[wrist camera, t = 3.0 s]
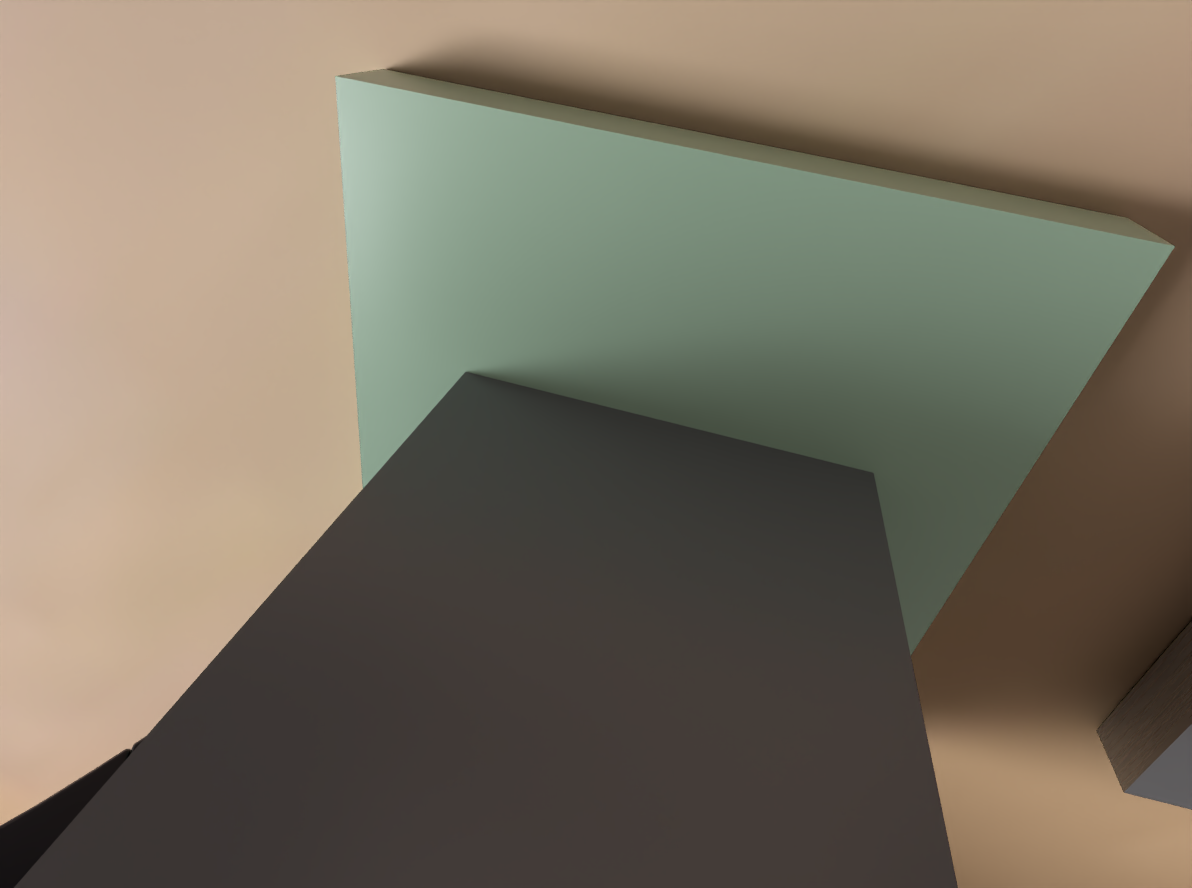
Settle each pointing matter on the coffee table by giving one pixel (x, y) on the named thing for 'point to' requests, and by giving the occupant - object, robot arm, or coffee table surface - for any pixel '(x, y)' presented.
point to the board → (728, 294)
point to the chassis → (1156, 729)
